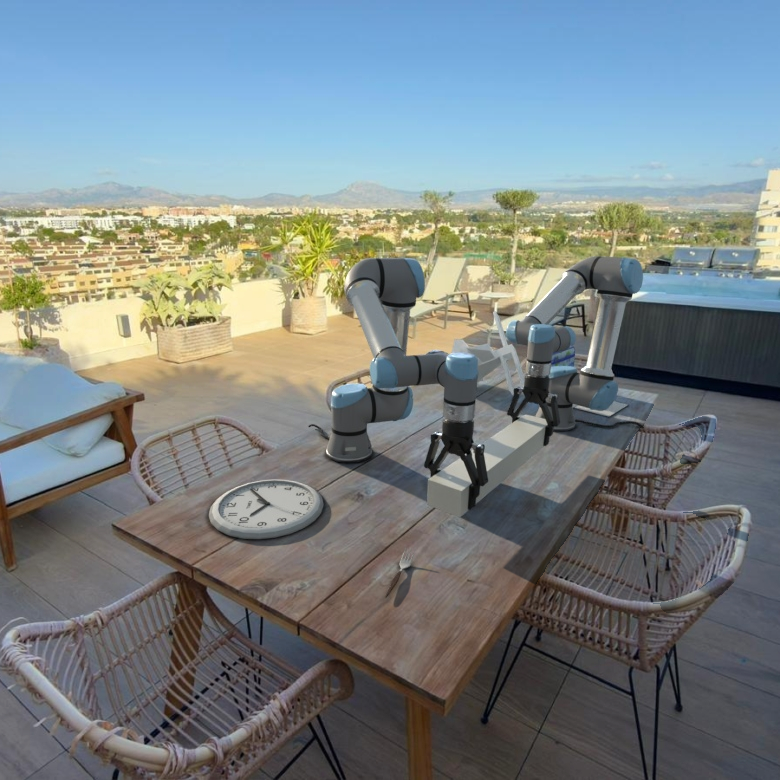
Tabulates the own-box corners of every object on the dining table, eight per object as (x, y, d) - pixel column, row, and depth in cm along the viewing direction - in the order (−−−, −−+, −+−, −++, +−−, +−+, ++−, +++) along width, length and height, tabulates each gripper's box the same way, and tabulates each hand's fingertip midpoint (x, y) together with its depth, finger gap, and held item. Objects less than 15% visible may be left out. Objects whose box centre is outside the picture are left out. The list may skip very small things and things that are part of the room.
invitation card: (608, 416, 214) (573, 407, 224) (608, 416, 214) (573, 408, 224) (628, 404, 229) (594, 396, 238) (628, 405, 229) (594, 397, 238)
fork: (379, 598, 107) (379, 590, 107) (404, 554, 122) (404, 547, 121) (391, 601, 106) (391, 593, 106) (415, 557, 121) (415, 549, 120)
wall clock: (321, 531, 127) (194, 535, 125) (321, 537, 128) (195, 541, 125) (325, 475, 156) (222, 477, 153) (325, 480, 156) (222, 482, 154)
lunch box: (547, 396, 238) (552, 351, 232) (526, 391, 246) (531, 347, 239) (574, 385, 256) (579, 343, 250) (554, 380, 263) (559, 340, 257)
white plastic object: (461, 429, 252) (437, 405, 227) (444, 352, 274) (420, 323, 250) (535, 404, 240) (518, 377, 215) (510, 326, 262) (492, 293, 237)
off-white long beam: (523, 434, 177) (525, 414, 175) (550, 441, 171) (552, 420, 169) (426, 504, 131) (427, 479, 129) (460, 517, 126) (461, 491, 123)
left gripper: (411, 412, 128) (408, 493, 135) (494, 433, 116) (486, 522, 123) (427, 404, 134) (424, 482, 141) (508, 424, 122) (500, 508, 129)
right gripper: (499, 371, 166) (494, 435, 173) (568, 383, 154) (560, 453, 161) (509, 366, 172) (503, 429, 179) (577, 378, 160) (568, 445, 166)
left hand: (453, 500), depth 132 cm, fingers closed on off-white long beam, 9 cm apart
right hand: (530, 440), depth 170 cm, fingers closed on off-white long beam, 9 cm apart
